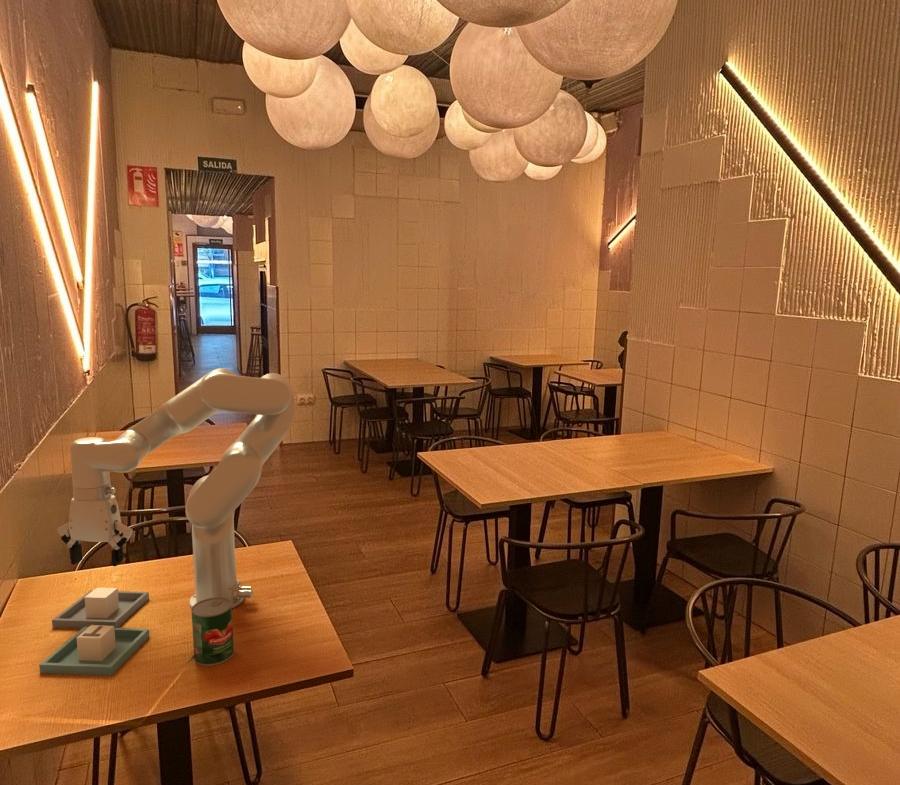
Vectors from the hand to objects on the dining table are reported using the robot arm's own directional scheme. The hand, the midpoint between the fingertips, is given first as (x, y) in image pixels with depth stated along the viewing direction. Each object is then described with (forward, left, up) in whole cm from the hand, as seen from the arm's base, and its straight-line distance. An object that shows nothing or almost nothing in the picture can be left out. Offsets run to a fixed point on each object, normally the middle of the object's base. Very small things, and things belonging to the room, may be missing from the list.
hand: (97, 563), depth 151 cm
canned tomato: (-33, +15, -13) cm, 39 cm away
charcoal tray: (0, 0, -13) cm, 13 cm away
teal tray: (-9, +17, -13) cm, 23 cm away
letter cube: (-9, +17, -12) cm, 23 cm away
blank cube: (0, 0, -12) cm, 12 cm away
